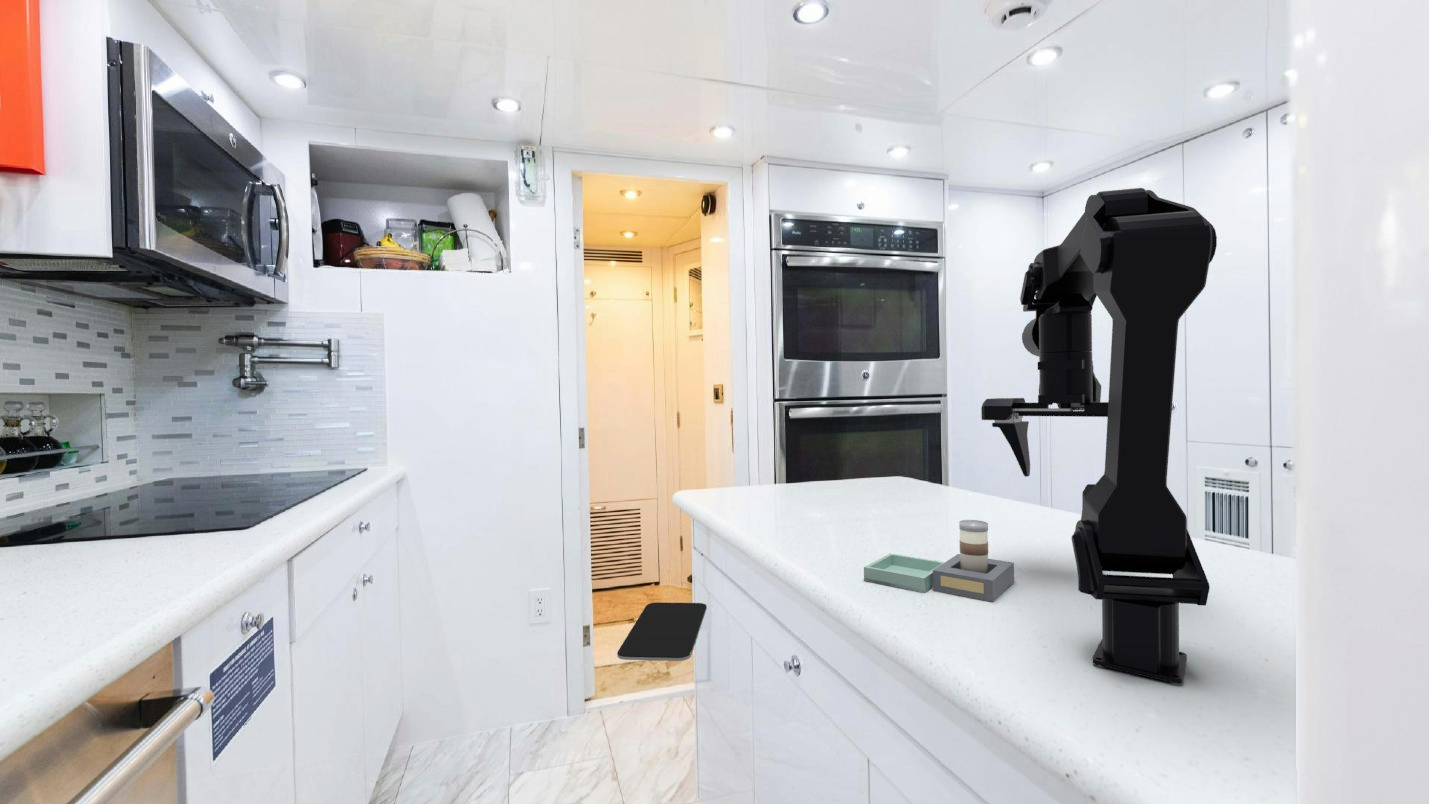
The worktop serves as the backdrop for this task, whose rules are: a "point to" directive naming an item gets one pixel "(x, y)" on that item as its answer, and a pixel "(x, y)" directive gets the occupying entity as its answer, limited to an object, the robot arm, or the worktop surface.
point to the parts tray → (902, 572)
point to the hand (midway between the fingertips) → (1066, 479)
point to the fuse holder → (974, 579)
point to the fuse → (974, 545)
